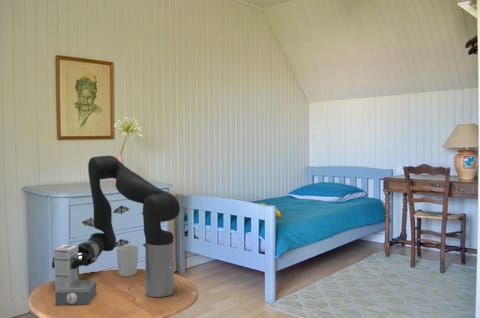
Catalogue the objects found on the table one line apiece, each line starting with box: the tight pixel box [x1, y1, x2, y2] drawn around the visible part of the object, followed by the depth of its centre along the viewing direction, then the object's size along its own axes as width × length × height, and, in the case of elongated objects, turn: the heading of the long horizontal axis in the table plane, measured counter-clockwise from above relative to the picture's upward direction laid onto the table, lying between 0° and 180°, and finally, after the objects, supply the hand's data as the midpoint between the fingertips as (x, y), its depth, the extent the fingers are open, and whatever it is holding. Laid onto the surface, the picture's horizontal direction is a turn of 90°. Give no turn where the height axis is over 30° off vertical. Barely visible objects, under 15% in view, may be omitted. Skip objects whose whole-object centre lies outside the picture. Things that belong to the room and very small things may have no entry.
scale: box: [54, 280, 97, 306], centre depth 141 cm, size 10×11×4 cm
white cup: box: [116, 244, 139, 277], centre depth 167 cm, size 8×8×10 cm
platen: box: [60, 279, 93, 291], centre depth 142 cm, size 8×8×1 cm
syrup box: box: [53, 244, 80, 291], centre depth 151 cm, size 6×6×14 cm
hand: (63, 265), depth 148 cm, fingers closed on syrup box, 6 cm apart
